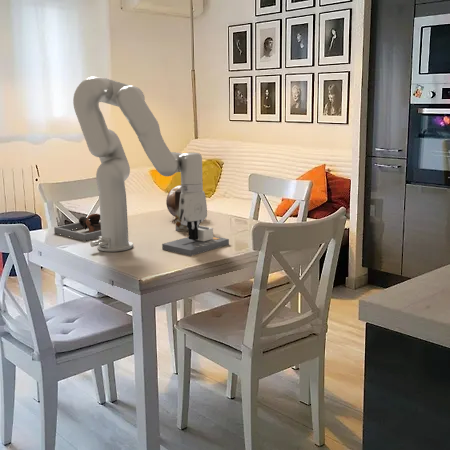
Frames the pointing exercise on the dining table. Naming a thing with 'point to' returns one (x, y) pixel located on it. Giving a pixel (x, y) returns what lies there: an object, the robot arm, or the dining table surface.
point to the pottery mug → (91, 222)
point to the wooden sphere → (172, 200)
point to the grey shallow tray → (67, 231)
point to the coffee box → (177, 218)
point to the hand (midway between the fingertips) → (193, 239)
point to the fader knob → (205, 233)
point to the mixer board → (194, 245)
